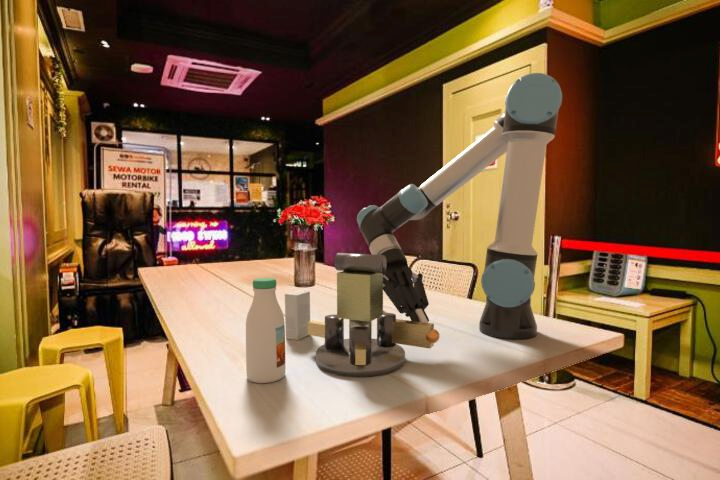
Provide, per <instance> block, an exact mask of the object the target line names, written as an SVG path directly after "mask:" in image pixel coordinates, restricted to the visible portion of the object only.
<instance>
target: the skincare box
mask: <svg viewBox="0 0 720 480" xmlns="http://www.w3.org/2000/svg"><path fill="white" fill-rule="evenodd" d="M310 321H311V293H310V291H308V290H298V289H296V290H294V291H290V292H288V293H285V294H284V325H285V339H287V340H292V341H293V340H295V341H299V340H302V339H304V338H305V337H307V336H309V335H308V322H310Z"/></svg>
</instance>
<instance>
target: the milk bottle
mask: <svg viewBox="0 0 720 480" xmlns="http://www.w3.org/2000/svg"><path fill="white" fill-rule="evenodd" d="M276 290H277V279H276V278H273V277H257V278H254V279H253V280H252V291H253V293H254V294H253V297H252V301H251V304H250V307H249V309H248V311H247V314H246V319H245V358H246V359H245V362H246V367H245V369H246V377H247V380H248V381H249V382H252V383H256V384H270V383H274V382H277V381H280V380H281V379H283V378H284V377H285V375H286V324H285V315H284V313H283V310H282V308H281V306H280V304H279V302H278V299H277V295H276V294H277V293H276Z"/></svg>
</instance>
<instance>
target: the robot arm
mask: <svg viewBox="0 0 720 480" xmlns="http://www.w3.org/2000/svg"><path fill="white" fill-rule="evenodd" d="M562 102H563V92H562V89H561V86H560V84H559V82H558V81H557V80H556V79H555V78H554V77H552V76H551V75H549V74H547V73H543V72H533V73H526V74H524V75H522V76H520V77H519V78H518V79H516V80H515V81H514V82H513V83H512V84H511V85H510V87H509V89H508V90H507V93H506V95H505V99H504V105H505V111H503V113H502V114H501V115H500V116H499V117H498V118H496V119H495V120H494V121H493V126H492V128H490V129H488V131H486V132H485V133H484V134H483V135H481V136H480V137H479V138H478V139H476V140H475V141H473V143H472V144H470V145H469V146H468V147H466V148H465V149H464V150H463V151H462V152H460V153H458V155H456V157H454V158H453V159H452V160H450V161H448V163H447V164H445V165H444V166H443V167H442V168H441V169H439V170H438V171H436V173H434V174H433V175H432V176H430V177H429V178H428V179H427V180H426V181H424V182H423V183H421V185H420V186H416V185H415V184H413V183H410V184H408V185H406V186H405V187H404V188H402V189H400V190H399V191H398V192H397V193H396V194H395V195H393V197H391V198H389V199H388V200H387V201H386V202H385V203H384V204H383V205H381V206H377V205H375V204H373V205H368V206H367V207H363V208H362V209H361V210H360V211H359V212H358V213H357V217H356V223H357V224H358V225H357V226H358V228H359V231H360V233H361V234H362V236H363V238H364V241H365V242H366V244H367V246H368V249H369V251H370V253H371V254H372V255H385V257H386V261H387V266H386V270H385V272H384V273H383V293H384V294H385V295H386V296H387V297H388V299H389V300H390V301H391V303H392V304H393V306H394V307H395V308H396V309H397V312H399V313H400V314H404V315H405V317H406V318H409V319H410V321H417V322H425V323H430V319H429V316H428V315H427V313H426V311H425V310H426V309H427V307H428V306H429V305H430V303H429V300H428V295H427V293H426V289H425V287H424V286H425V285H424V283H423V273H419V272H418V274H417V273H415V272H413V270H412V268H410V267H409V265H408V259H407V258H406V256H405V253H404V251H403V250H402V247H401V245H400V244H399V242H398V240H397V237H396V236H395V235H394V232H395V231H396V230H398V229H399V228H400V227H402V226H404V225H405V224H406V223H407V222H409V221H419V220H422V219H424V218H425V217H427V216H428V215H429V213H430V212H431V211H433V210H434V209H435V208H436V207H437V206H439V205H440V204H441V203H442V202H444V201H445V200H446V199H447V198H448V197H450V196H451V195H453V194H454V193H455V192H457V191H458V190H459V189H461V187H463V186H464V185H465V184H468V183H469V181H470V180H472V179H473V178H475V177H476V176H477V175H478V174H480V173H481V172H483V171H484V170H485V169H486V168H487V167H489V166H491V164H493V163H494V162H496V161H497V160H498V159H500V157H502V156H503V155H504V154H506V155H505V162H504V169H503V170H504V171H503V177H502V183H501V184H502V185H501V193H500V199H499V206H498V213H497V221H496V229H495V236H494V241H493V242H492V243H491V244H489V245H488V246H487V247H486V255H485V263H484V271H483V272H482V275H481V279H480V284H481V288H482V291H483V293H484V295H485V297H486V300H485V305H484V308H483V311H482V312H481V313H482V314H481V316H480V319H479V325H478V327H479V332H481V333H482V334H485V335H487V336H491V337H494V338H500V339H509V340H523V339H525V340H526V339H530V338H534V337H536V336H537V335H538V324H537V322H536V318H535V315H534V312H533V309H532V306H531V305H532V303H531V302H532V295H533V293H534V291H535V288H536V287H535V286H536V282H535V275H536V267H537V260H538V259H537V258H538V252H537V251H536V249H535V248H534V247H533V239H534V232H535V226H536V225H535V224H536V219H537V213H538V212H537V211H538V206H539V198H540V191H541V185H542V176H543V170H544V166H545V165H544V164H545V159H546V158H545V156H546V150H547V145H548V144H549V143H550V142H551V141H553V139H555V136H556V130H557V125H558V123H557V122H558V116H559V109H560V107H561V106H562Z"/></svg>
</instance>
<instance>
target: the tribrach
mask: <svg viewBox="0 0 720 480" xmlns="http://www.w3.org/2000/svg"><path fill="white" fill-rule="evenodd" d="M333 264H334V268H335V270H336V271H338V272H336V314H328V315H325V316H324V321H318V320H310V322H308V336H311V337H312V336H313V337H317V338H318V337H319V338H324V344H322V345H320V346H318V348H317V349H316V351H315V364H316V366H317V367H318V368H319V369H320V370H323V371H324V372H325V373H328V374H332V375H336V376H339V377H340V376H341V377H348V378H349V377H350V378H371V377H379V376H384V375H389V374H391V373H395V372H396V371H399V370H400V369H402V368H403V367H404V365H405V363H406V351H405V348H404V347H402V346H401V345H400V344H396V346H394V347H389V348H385V347H379V346H377V338H372V337H373V336H372V330H373V329H372V325H373V324H372V323H373V321H374V320H377V318H378V317H380V316H381V315H383V313H384V290H383V273H384V272H385V270H386V266H387V261H386V257H385V255H372V253H371V254H369V253H351V252H350V253H347V252H337V253H336V254H335V257H334V261H333ZM344 320H348V327H349V329H348V330H349V331H348V333H349V335H348V336H349V337H348V338H345V333H344V332H345V326H344V325H345V321H344Z"/></svg>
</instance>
